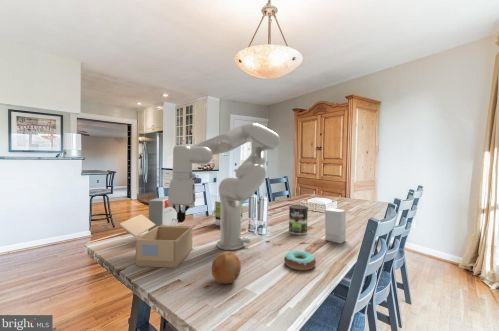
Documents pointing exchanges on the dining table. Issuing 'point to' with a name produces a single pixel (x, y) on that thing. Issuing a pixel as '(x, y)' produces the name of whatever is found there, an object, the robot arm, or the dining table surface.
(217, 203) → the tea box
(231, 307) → the dining table surface
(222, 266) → the onion
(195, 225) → the flap
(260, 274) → the dining table surface
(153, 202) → the hard drive box
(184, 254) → the carton
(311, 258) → the donut
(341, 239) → the skincare box
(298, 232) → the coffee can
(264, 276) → the dining table surface
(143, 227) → the flap
